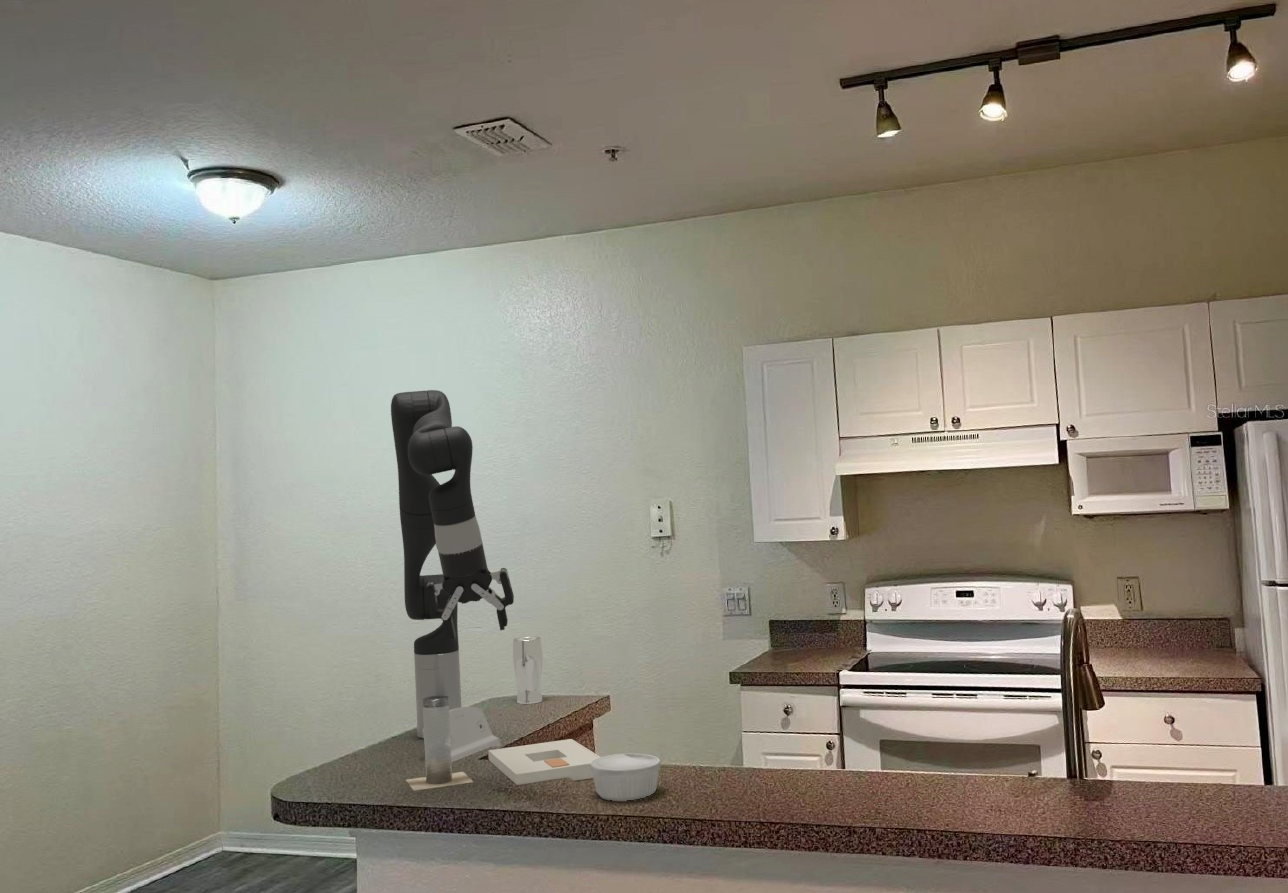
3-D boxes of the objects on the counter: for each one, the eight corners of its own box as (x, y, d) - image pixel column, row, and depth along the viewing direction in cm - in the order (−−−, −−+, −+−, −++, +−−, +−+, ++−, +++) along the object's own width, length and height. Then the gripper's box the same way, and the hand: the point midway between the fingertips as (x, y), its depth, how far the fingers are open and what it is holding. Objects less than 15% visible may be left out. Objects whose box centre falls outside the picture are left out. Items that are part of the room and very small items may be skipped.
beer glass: (528, 698, 262) (525, 636, 263) (550, 700, 258) (547, 637, 259) (509, 703, 257) (506, 640, 257) (531, 705, 253) (528, 641, 253)
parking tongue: (405, 784, 186) (405, 779, 186) (463, 776, 190) (463, 771, 190) (413, 795, 179) (413, 790, 179) (473, 786, 183) (473, 781, 183)
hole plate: (488, 764, 198) (488, 749, 198) (572, 752, 204) (571, 737, 204) (517, 789, 179) (516, 773, 179) (607, 775, 185) (606, 759, 185)
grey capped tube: (423, 779, 186) (420, 697, 186) (449, 776, 187) (445, 694, 188) (428, 785, 182) (425, 701, 182) (454, 781, 183) (451, 698, 184)
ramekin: (673, 787, 176) (671, 755, 176) (641, 806, 166) (639, 772, 166) (614, 782, 181) (612, 750, 182) (579, 800, 171) (577, 767, 172)
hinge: (451, 767, 197) (433, 714, 199) (431, 774, 199) (414, 722, 201) (502, 746, 212) (486, 697, 214) (484, 753, 214) (468, 704, 216)
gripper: (502, 530, 187) (519, 618, 190) (420, 545, 186) (439, 632, 189) (500, 543, 179) (518, 634, 183) (415, 558, 178) (434, 649, 182)
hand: (478, 633), depth 186 cm, fingers open, 8 cm apart
